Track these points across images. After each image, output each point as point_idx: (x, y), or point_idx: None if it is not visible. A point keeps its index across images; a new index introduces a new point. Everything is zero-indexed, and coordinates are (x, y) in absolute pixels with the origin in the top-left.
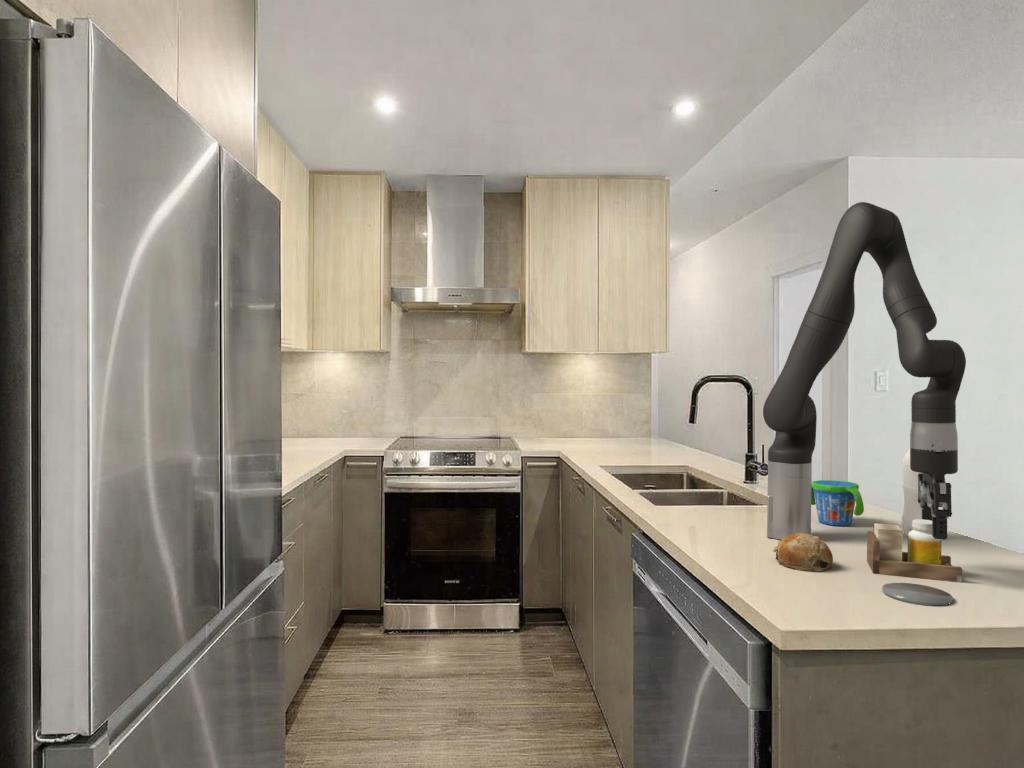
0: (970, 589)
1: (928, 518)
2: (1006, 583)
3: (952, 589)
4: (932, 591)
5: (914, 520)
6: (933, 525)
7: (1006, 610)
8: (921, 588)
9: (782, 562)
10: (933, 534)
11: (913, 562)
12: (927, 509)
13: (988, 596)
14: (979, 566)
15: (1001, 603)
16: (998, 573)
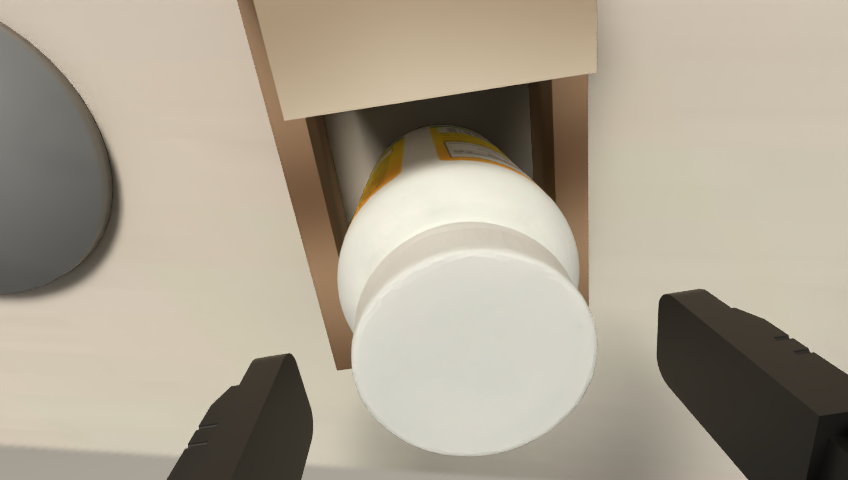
0: (253, 351)
1: (724, 390)
2: (430, 452)
3: (202, 294)
4: (16, 225)
5: (480, 270)
6: (211, 438)
7: (44, 428)
8: (30, 182)
9: None
10: (246, 373)
11: (315, 163)
12: (825, 466)
13: (193, 396)
14: (662, 397)
15: (127, 422)
16: (573, 442)
